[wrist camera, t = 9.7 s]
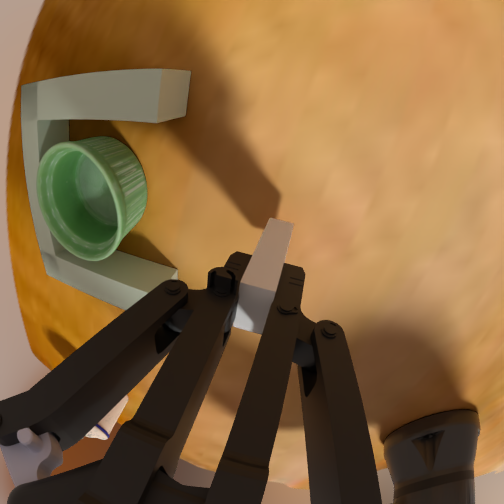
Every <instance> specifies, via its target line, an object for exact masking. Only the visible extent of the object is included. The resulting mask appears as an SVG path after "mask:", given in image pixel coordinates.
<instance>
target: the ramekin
mask: <svg viewBox="0 0 504 504" xmlns="http://www.w3.org/2000/svg"><path fill="white" fill-rule="evenodd" d="M36 190H37V198H38V203H39V206H40V210H41V213H42V215H43V218H44V220H45V222H46V224H47V226H48V228H49V229H50V231H51V233H52V234H53V236H54V237H55V238H56V239H57V241H58V242H59V243H60V244H61V245H62V246H63V247H64V248H65V249H67V250H68V251H69V252H70V253H72V254H73V255H75V256H77V257H79V258H81V259H84V260H88V261H99V260H103V259H105V258H107V257H108V256H110V255H111V254H112V253H113V252H114V251H115V250H116V248H117V247H118V246H119V244H120V242H121V240H122V239H123V238H124V237H125V236H126V235H127V234H128V233H129V231H130V230H131V229H132V228H133V227H134V226H135V225H136V224H137V223H138V222H139V220H140V219H141V217H142V215H143V213H144V210H145V207H146V203H147V184H146V179H145V175H144V172H143V169H142V166H141V164H140V163H139V161H138V159H137V158H136V156H135V155H134V154H133V152H132V151H131V150H130V149H129V148H128V147H127V146H126V145H124V144H123V143H122V142H120V141H119V140H116V139H115V138H111V137H107V136H98V137H92V138H87V139H82V140H78V141H66V142H61V143H58V144H55V145H54V146H52V147H51V148H50V149H48V150H47V152H46V153H45V154H44V156H43V157H42V159H41V161H40V164H39V167H38V171H37V178H36Z"/></svg>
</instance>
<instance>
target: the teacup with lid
mask: <svg viewBox="0 0 504 504" xmlns="http://www.w3.org/2000/svg"><path fill="white" fill-rule="evenodd" d="M127 402H128V396H127V395H126V396H125V397H124V398H123V399H122V400H121V401H120V402H119V403H118V404H117V405H116V406H115V407H114V408H113V409H112V410H111V411H110V412H109V413H108V414H107V415H106V416H105V417H104V418H103V419H102V420H101V421H100V422H99V423H98V424H96V425H95V426H94V427H93V428H92V429H91V430H90V431H89V432H88V433H87V434H86V435H85V436H87V437H92V438H94V437H95V438H99V439H103V440H106V439H107V438H109V433H110V431H111V430H112V428H113V426H114V424H115V422H116V421H117V419H118V417H119V416H120V414H121V412H122V410H123V409H124V407H125V405H126V403H127ZM82 439H83V438H82Z"/></svg>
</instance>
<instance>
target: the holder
mask: <svg viewBox="0 0 504 504" xmlns="http://www.w3.org/2000/svg"><path fill="white" fill-rule="evenodd" d="M190 77H191V71H187V70H175V69H129V70H114V71H102V72H93V73H85V74H77V75H70V76H64V77H58V78H53V79H48V80H43V81H38V82H33V83H29V84H25V85H22V86H21V129H22V146H23V158H24V168H25V176H26V183H27V190H28V196H29V202H30V207H31V213H32V218H33V222H34V227H35V231H36V236H37V240H38V244H39V248H40V251H41V255H42V259H43V262H44V266H45V269H46V272H47V275H49V276H51V277H53V278H55V279H57V280H59V281H61V282H63V283H65V284H68V285H70V286H72V287H74V288H76V289H78V290H80V291H82V292H85V293H87V294H89V295H91V296H93V297H96V298H98V299H100V300H102V301H105V302H107V303H109V304H112V305H114V306H116V307H119V308H121V309H124V310H127V309H128V308H130V307H131V306H132V305H134V304H135V303H136V302H137V301H139V300H140V299H141V298H142V297H144V296H145V295H146V294H148V293H149V292H150V291H152V290H153V289H154V288H155V287H157V286H158V285H159V284H161V283H162V282H164V281H166V280H170V279H177V280H178V269H174V268H171V267H168V266H165V265H161V264H158V263H155V262H152V261H149V260H146V259H142V258H139V257H136V256H133V255H130V254H127V253H124V252H121V251H118V250H115V251H114V252H113V253H112V254H111V255H110V256H108V257H107V258H105V259H103V260H99V261H88V260H84V259H81V258H79V257H77V256H75V255H73V254H72V253H70V252H69V251H68V250H67V249H65V248H64V247H63V246H62V245H61V244H60V243H59V242H58V241H57V239H56V238H55V237H54V236H53V234H52V233H51V231H50V229H49V228H48V226H47V224H46V222H45V220H44V218H43V215H42V213H41V210H40V206H39V203H38V198H37V190H36V178H37V171H38V167H39V164H40V161H41V159H42V157H43V156H44V154H45V153H46V152H47V150H48V149H50V148H51V147H52V146H54V145H55V144H58V143H61V142H66V141H69V119H94V120H121V121H137V122H150V123H159V122H163V121H167V120H171V119H175V118H179V117H184V116H186V109H187V100H188V92H189V84H190Z"/></svg>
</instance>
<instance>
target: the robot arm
mask: <svg viewBox="0 0 504 504" xmlns="http://www.w3.org/2000/svg"><path fill="white" fill-rule="evenodd" d="M293 226H294V223H290V222H286V221H282V220H278V219H274V218H269V220H268V222H267V225H266V227H265V229H264V231H263V233H262V236H261V238H260V240H259V242H258V244H257V246H256V249H255V251H254V253H253V255H249V254H245V253H241V252H238V251H237V252H235V253H233V254H232V255H230V257H229V259H228V260H227V262H226V264H225V265H224V267H216V268H214V269H211V270H210V271H209V272H208V283H207V288H206V289H203V290H191V289H188V287H187V285H186V284H185V283H184V282H183V281H180V280H177V279H170V280H166V281H164V282H162V283H161V284H159V285H158V286H157V287H155V288H154V289H153V290H152V291H150V292H149V293H148V294H146V295H145V296H144V297H142V298H141V299H140V300H139V301H137V302H136V303H135V304H134V305H132V306H131V307H130V308H128V309H127V310H126V311H125V312H123V313H122V314H121V315H120V316H118V317H117V318H116V319H114V320H113V321H112V322H111V323H109V324H108V325H107V326H106V327H104V328H103V329H102V330H101V331H99V332H98V333H97V334H96V335H94V336H93V337H92V338H91V339H90V340H88V341H87V342H86V343H85V344H83V345H82V346H81V347H80V348H78V349H77V350H76V351H75V352H74V353H72V354H71V355H70V356H69V357H68V358H66V359H65V360H64V361H63V362H62V363H60V364H59V365H58V366H57V367H56V368H54V369H53V370H52V371H51V372H50V373H48V374H47V375H46V376H45V377H44V378H43V379H41V380H40V381H39V382H38V383H37V384H35V385H34V386H33V387H32V388H31V389H30V390H28V391H26V392H24V393H21V394H18V395H16V396H13V397H10V398H8V399H5V400H2V401H0V447H1V450H2V453H3V456H4V459H5V462H6V465H7V467H8V470H9V473H10V475H11V478H12V480H13V483H14V485H15V488H14V489H13V490H12V492H11V493H10V495H9V497H8V501H7V504H261V501H262V498H263V494H264V491H265V487H266V484H267V480H268V475H269V461H270V457H271V453H272V449H273V445H274V441H275V437H276V433H277V429H278V425H279V420H280V416H281V412H282V407H283V403H284V398H285V393H286V389H287V384H288V379H289V374H290V369H291V364H292V362H294V363H296V364H298V375H299V384H300V392H301V402H302V411H303V420H304V430H305V441H306V451H307V462H308V474H309V486H310V500H311V504H382V500H381V494H380V488H379V482H378V476H377V470H376V465H375V459H374V454H373V449H372V444H371V439H370V435H369V430H368V425H367V421H366V416H365V412H364V408H363V403H362V399H361V395H360V391H359V387H358V383H357V379H356V375H355V371H354V367H353V363H352V360H351V356H350V352H349V349H348V345H347V341H346V338H345V334H344V331H343V329H342V328H341V327H340V326H339V325H338V324H337V323H335V322H333V321H329V320H321V321H319V322H317V323H315V322H313V321H311V320H309V319H308V318H306V317H305V316H304V315H303V313H302V311H301V309H300V305H301V299H302V293H303V286H304V280H305V272H304V270H303V268H302V267H298V266H294V265H290V264H286V263H284V262H285V258H286V254H287V250H288V246H289V242H290V238H291V234H292V230H293ZM233 322H234V324H233ZM232 325H233V327H236V328H240V329H243V330H247V331H250V332H254V333H258V334H261V335H262V336H261V339H260V342H259V346H258V349H257V352H256V355H255V359H254V362H253V365H252V368H251V371H250V374H249V377H248V381H247V384H246V387H245V390H244V393H243V396H242V399H241V402H240V405H239V408H238V411H237V414H236V417H235V420H234V423H233V426H232V429H231V432H230V435H229V438H228V441H227V443H226V446H225V449H224V452H223V455H222V457H221V459H220V462H219V465H218V468H217V470H216V473H215V476H214V479H213V481H212V484H211V487H210V488H202V487H193V486H185V485H182V484H180V483H178V482H177V481H175V480H174V479H173V476H174V474H175V471H176V468H177V464H178V460H179V457H180V454H181V452H182V450H183V447H184V445H185V443H186V440H187V438H188V435H189V433H190V431H191V428H192V426H193V424H194V421H195V419H196V416H197V414H198V412H199V409H200V407H201V404H202V402H203V400H204V397H205V395H206V392H207V390H208V388H209V385H210V383H211V380H212V378H213V375H214V373H215V371H216V368H217V366H218V363H219V361H220V358H221V356H222V354H223V351H224V349H225V346H226V344H227V341H228V339H229V336H230V332H231V327H232ZM169 352H170V353H169ZM168 353H169V354H168ZM167 354H168V356H167V358H166V360H165V361H164V363H163V365H162V367H161V369H160V370H159V372H158V374H157V376H156V377H155V379H154V381H153V383H152V385H151V386H150V388H149V390H148V392H147V394H146V395H145V397H144V399H143V401H142V403H141V404H140V406H139V408H138V410H137V412H136V414H135V415H134V417H133V418H132V419H131V420H129V421H126V422H125V423H124V424H123V425H122V426H121V428H120V429H119V431H118V432H117V434H116V436H115V438H114V440H113V441H112V443H111V445H110V447H109V449H108V451H107V452H106V454H105V456H104V458H103V459H101V460H98V461H95V462H92V463H89V464H87V465H84V466H81V467H78V468H75V469H72V470H69V471H66V472H64V473H60V474H57V475H54V476H50V474H51V472H52V471H53V470H54V469H55V468H56V467H58V466H60V465H61V464H62V463H63V454H62V451H64V450H66V449H68V448H70V447H71V446H73V445H74V444H75V443H77V442H78V441H79V440H80V439H82V438H83V437H84V436H85V435H86V434H87V433H88V432H89V431H90V430H91V429H92V428H93V427H94V426H95V425H96V424H98V423H99V422H100V421H101V420H102V419H103V418H104V417H105V416H106V415H107V414H108V413H109V412H110V411H111V410H112V409H113V408H114V407H115V406H116V405H117V404H118V403H119V402H120V401H121V400H122V399H123V398H124V397H125V396H126V395H127V394H128V393H129V392H130V391H131V390H132V389H133V388H134V387H135V386H136V385H137V384H138V383H139V382H140V381H141V380H142V379H143V378H144V377H145V376H146V375H147V374H148V373H149V372H150V371H151V370H152V369H153V368H154V367H155V366H156V365H157V364H158V363H159V362H160V361H161V360H162V359H163V358H164V357H165V356H166V355H167ZM479 434H480V422H479V417H478V414H477V413H476V412H474V411H471V410H454V411H448V412H443V413H439V414H435V415H432V416H428V417H425V418H422V419H419V420H417V421H414V422H412V423H409V424H407V425H405V426H403V427H401V428H399V429H397V430H396V431H394V432H393V433H391V434H390V435H389V436H388V437H387V438H386V439H385V441H384V458H385V460H386V463H387V466H388V469H389V472H390V475H391V478H392V481H393V484H394V499H393V504H475V483H474V460H475V455H476V449H477V440H478V436H479Z"/></svg>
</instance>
